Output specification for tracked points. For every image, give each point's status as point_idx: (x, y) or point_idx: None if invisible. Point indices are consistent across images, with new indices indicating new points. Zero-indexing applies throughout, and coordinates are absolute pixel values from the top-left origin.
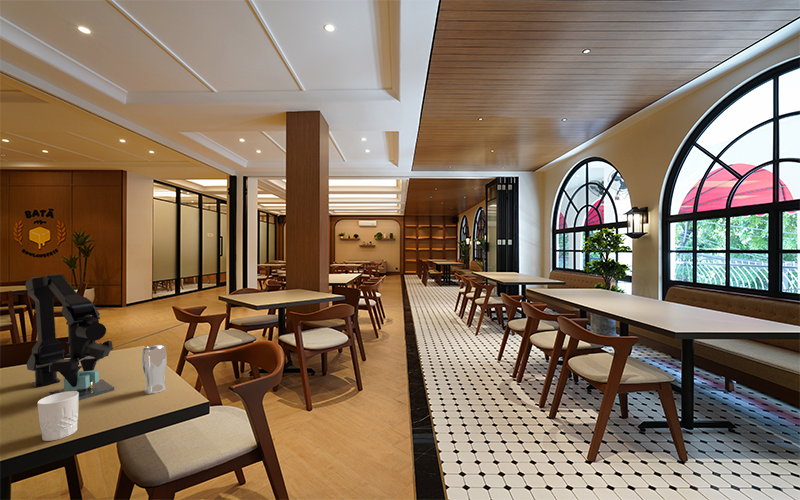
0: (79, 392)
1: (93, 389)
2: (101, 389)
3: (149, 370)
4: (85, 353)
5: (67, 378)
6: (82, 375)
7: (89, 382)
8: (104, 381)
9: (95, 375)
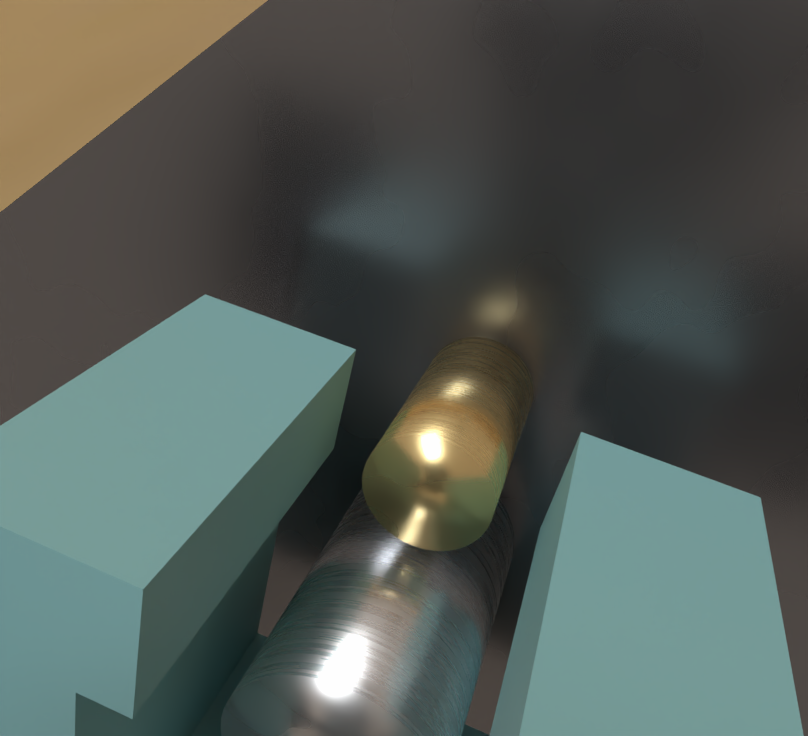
0: None
1: (544, 313)
2: (697, 85)
3: None
4: None
5: None
6: None
7: (572, 511)
8: (22, 210)
9: (207, 468)
